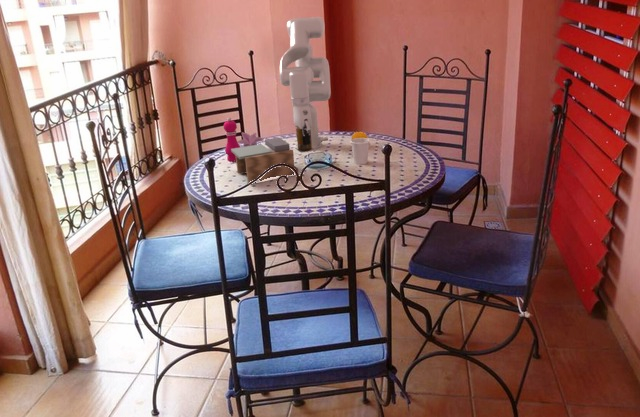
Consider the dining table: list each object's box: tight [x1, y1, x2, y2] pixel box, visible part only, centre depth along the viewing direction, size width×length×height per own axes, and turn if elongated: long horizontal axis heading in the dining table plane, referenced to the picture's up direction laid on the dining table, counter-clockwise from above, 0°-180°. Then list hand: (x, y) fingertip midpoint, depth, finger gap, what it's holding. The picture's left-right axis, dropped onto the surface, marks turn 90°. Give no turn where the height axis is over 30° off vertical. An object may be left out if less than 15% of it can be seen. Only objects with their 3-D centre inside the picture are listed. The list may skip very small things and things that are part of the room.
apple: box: [350, 131, 369, 141], centre depth 260 cm, size 8×8×8 cm
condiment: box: [294, 126, 318, 154], centre depth 232 cm, size 7×8×12 cm
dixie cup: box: [350, 137, 371, 166], centre depth 236 cm, size 8×8×10 cm
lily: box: [237, 132, 265, 147], centre depth 267 cm, size 12×12×10 cm
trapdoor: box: [231, 137, 291, 159], centre depth 227 cm, size 21×14×4 cm, turn 113°
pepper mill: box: [223, 117, 241, 163], centre depth 251 cm, size 7×7×20 cm
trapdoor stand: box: [235, 142, 299, 184], centre depth 229 cm, size 21×18×11 cm
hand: (303, 142), depth 234 cm, fingers closed on condiment, 6 cm apart
